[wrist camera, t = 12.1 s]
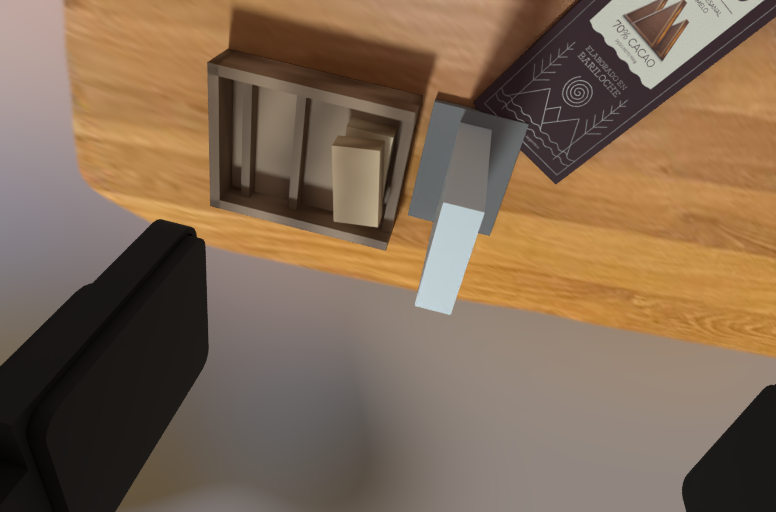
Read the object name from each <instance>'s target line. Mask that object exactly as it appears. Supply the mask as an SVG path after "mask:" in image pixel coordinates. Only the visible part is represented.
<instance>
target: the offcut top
mask: <svg viewBox="0 0 776 512" xmlns="http://www.w3.org/2000/svg"><path fill="white" fill-rule="evenodd" d="M384 149H385V141H384V140H375V139H366V138H357V137H348V136H339V135H338V137H337V138H336V140H335V141H334V143H333V144H332V175H333V215H334V222H340V223H348V224H356V225H363V226H371V227H378V225H379V223H380V220H381V217H382V206H383V177H384Z"/></svg>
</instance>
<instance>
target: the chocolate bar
mask: <svg viewBox="0 0 776 512" xmlns="http://www.w3.org/2000/svg"><path fill="white" fill-rule="evenodd" d="M775 17H776V0H579V1H578V2H577V3H576V4H575V5H574V6H573V7H572V8H571V9H570V10H569V11H568V12H566V13H565V14H564V15H563V16H562V17H561V18H560V19H559V20H558V21H557V22H556V23H555V24H554V25H553V26H552V27H551V28H550V29H549V30H548V31H547V32H546V33H545V34H543V35H542V36H541V37H540V38H539V39H538V40H537V41H536V42H535V43H534V44H533V45H532V46H531V47H530V48H529V49H528V50H527V51H526V52H525V53H524V54H523V55H522V56H520V57H519V58H518V59H517V60H516V61H515V62H514V63H513V64H512V65H511V66H510V67H509V68H508V69H507V70H506V71H505V72H504V73H503V74H502V75H501V76H500V77H499V78H497V79H496V80H495V81H494V82H493V83H492V84H491V85H490V86H489V87H488V88H487V89H486V90H485V91H484V92H483V93H482V94H481V95H480V96H479V97H478V98H477V99H476V100H474V103H473V104H474V105H475V106H476V107H477V108H478V109H479V110H480V111H481V112H482V113H486V114H491V115H495V116H499V117H503V118H507V119H511V120H515V121H519V122H524V123H528V124H529V125H528V128H527V131H526V133H525V136H524V139H523V142H522V145H521V148H520V150H521V151H522V152H523V153H524V154H525V155H526V156H527V157H528V158H529V159H530V160H531V161H532V162H533V163H534V164H535V165H536V166H537V167H538V168H539V169H540V170H541V171H543V172H544V173H545V174H546V175H547V176H548V177H549V178H550V179H551V180H552V181H553V182H554V183H555V184H557V183H558V182H560V181H561V180H562V179H564V178H565V177H566V176H568V175H569V174H570V173H572V172H573V171H574V170H576V169H577V168H578V167H579V166H581V165H582V164H583V163H585V162H586V161H587V160H589V159H590V158H591V157H593V156H594V155H595V154H596V153H598V152H599V151H600V150H602V149H603V148H604V147H606V146H607V145H608V144H610V143H611V142H612V141H614V140H615V139H616V138H617V137H619V136H620V135H621V134H623V133H624V132H625V131H627V130H628V129H629V128H631V127H632V126H633V125H635V124H636V123H637V122H638V121H640V120H641V119H642V118H644V117H645V116H646V115H648V114H649V113H650V112H652V111H653V110H654V109H656V108H657V107H658V106H659V105H661V104H662V103H663V102H665V101H666V100H667V99H669V98H670V97H671V96H673V95H674V94H675V93H676V92H678V91H679V90H680V89H682V88H683V87H684V86H686V85H687V84H688V83H690V82H691V81H692V80H694V79H695V78H696V77H697V76H699V75H700V74H701V73H703V72H704V71H705V70H707V69H708V68H709V67H711V66H712V65H713V64H715V63H716V62H717V61H718V60H720V59H721V58H722V57H724V56H725V55H726V54H728V53H729V52H730V51H732V50H733V49H734V48H736V47H737V46H738V45H739V44H741V43H742V42H743V41H745V40H746V39H747V38H749V37H750V36H751V35H753V34H754V33H755V32H756V31H758V30H759V29H760V28H762V27H763V26H764V25H766V24H767V23H768V22H770V21H771V20H772V19H774V18H775Z"/></svg>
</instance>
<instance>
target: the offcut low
mask: <svg viewBox="0 0 776 512" xmlns="http://www.w3.org/2000/svg"><path fill="white" fill-rule="evenodd" d="M396 133H397V128H395V127H391V126H387V125H383V124H379V123H375V122H371V121H366V120H362V119H358V118H354V117H352V119H351V120H350V122H349V123H348V125H347V127H346V134H345V136H348V137H357V138H366V139H375V140H384V141H385V149H384V177H383V198H384V193H385V188H386V183H387V178H388V173H389V168H390V163H391V158H392V153H393V148H394V143H395V138H396Z"/></svg>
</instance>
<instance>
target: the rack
mask: <svg viewBox="0 0 776 512" xmlns="http://www.w3.org/2000/svg"><path fill="white" fill-rule="evenodd" d="M207 68H208V115H209V162H210V206H212V207H216V208H220V209H224V210H228V211H232V212H236V213H240V214H244V215H247V216H251V217H255V218H259V219H263V220H267V221H271V222H275V223H279V224H283V225H287V226H291V227H295V228H298V229H302V230H306V231H310V232H314V233H318V234H322V235H326V236H330V237H334V238H338V239H342V240H346V241H349V242H353V243H357V244H361V245H365V246H369V247H373V248H377V249H381V250H385V251H386V249H387V246H388V243H389V240H390V236H391V233H392V230H393V227H394V223H395V218H396V213H397V209H398V204H399V200H400V195H401V191H402V186H403V181H404V177H405V172H406V168H407V163H408V159H409V154H410V149H411V145H412V140H413V136H414V131H415V127H416V122H417V117H418V113H419V108H420V104H421V99H422V95H418V94H413V93H409V92H405V91H401V90H397V89H393V88H389V87H384V86H380V85H376V84H372V83H368V82H364V81H360V80H355V79H351V78H347V77H343V76H339V75H335V74H331V73H326V72H322V71H318V70H314V69H310V68H306V67H302V66H297V65H293V64H289V63H285V62H281V61H277V60H273V59H268V58H264V57H260V56H256V55H252V54H248V53H244V52H239V51H235V50H231V49H227V50H225V51H224V52H222V53H221V54H219V55H218V56H216V57H215V58H213V59H212V60H210V61H209V62H207ZM352 117H354V118H358V119H362V120H366V121H371V122H375V123H379V124H383V125H387V126H391V127H395V128H397V133H396V138H395V143H394V148H393V153H392V158H391V163H390V168H389V173H388V178H387V183H386V188H385V193H384V198H383V206H382V217H381V220H380V223H379V225H378V227H371V226H363V225H356V224H348V223H340V222H334V215H333V175H332V144H333V143H334V141H335V140H336V138H337V137H338V135H339V136H345V134H346V127H347V125H348V123H349V122H350V120H351V119H352Z"/></svg>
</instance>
